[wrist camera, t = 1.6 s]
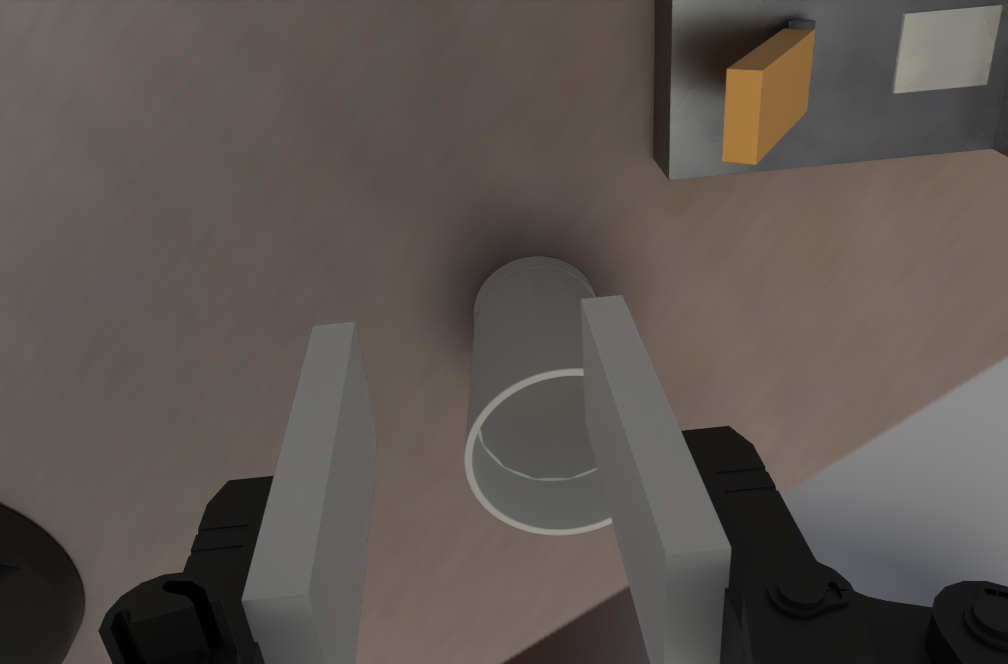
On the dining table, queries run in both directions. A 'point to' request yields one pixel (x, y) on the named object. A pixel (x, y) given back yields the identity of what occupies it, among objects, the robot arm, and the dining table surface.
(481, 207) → the dining table surface
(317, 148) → the dining table surface
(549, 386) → the cup
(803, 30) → the paddle
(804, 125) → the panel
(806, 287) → the dining table surface
